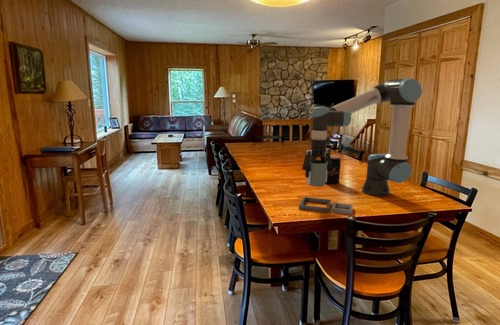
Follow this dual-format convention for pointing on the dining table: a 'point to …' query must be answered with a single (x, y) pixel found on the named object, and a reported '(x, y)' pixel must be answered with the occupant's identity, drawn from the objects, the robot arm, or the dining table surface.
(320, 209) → the square hollow frame
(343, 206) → the grey diamond-shaped open frame
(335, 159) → the coffee jar
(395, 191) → the dining table surface
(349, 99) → the robot arm
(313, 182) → the grey cup
